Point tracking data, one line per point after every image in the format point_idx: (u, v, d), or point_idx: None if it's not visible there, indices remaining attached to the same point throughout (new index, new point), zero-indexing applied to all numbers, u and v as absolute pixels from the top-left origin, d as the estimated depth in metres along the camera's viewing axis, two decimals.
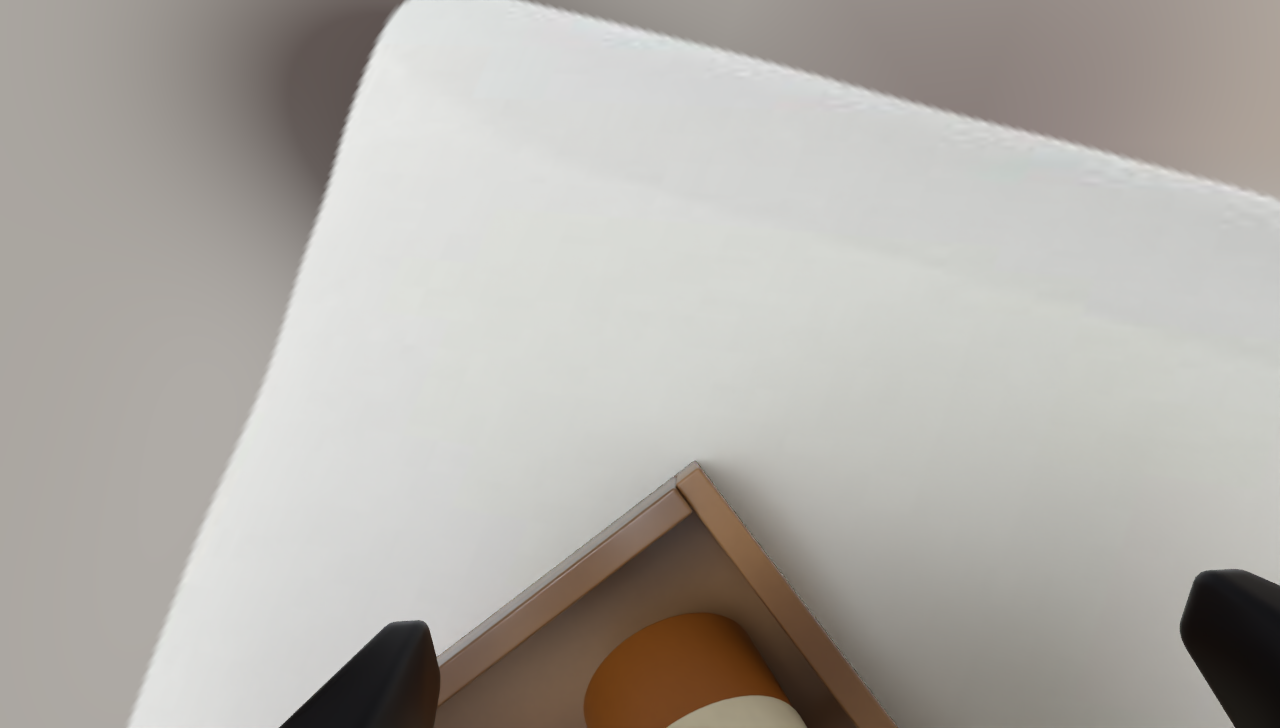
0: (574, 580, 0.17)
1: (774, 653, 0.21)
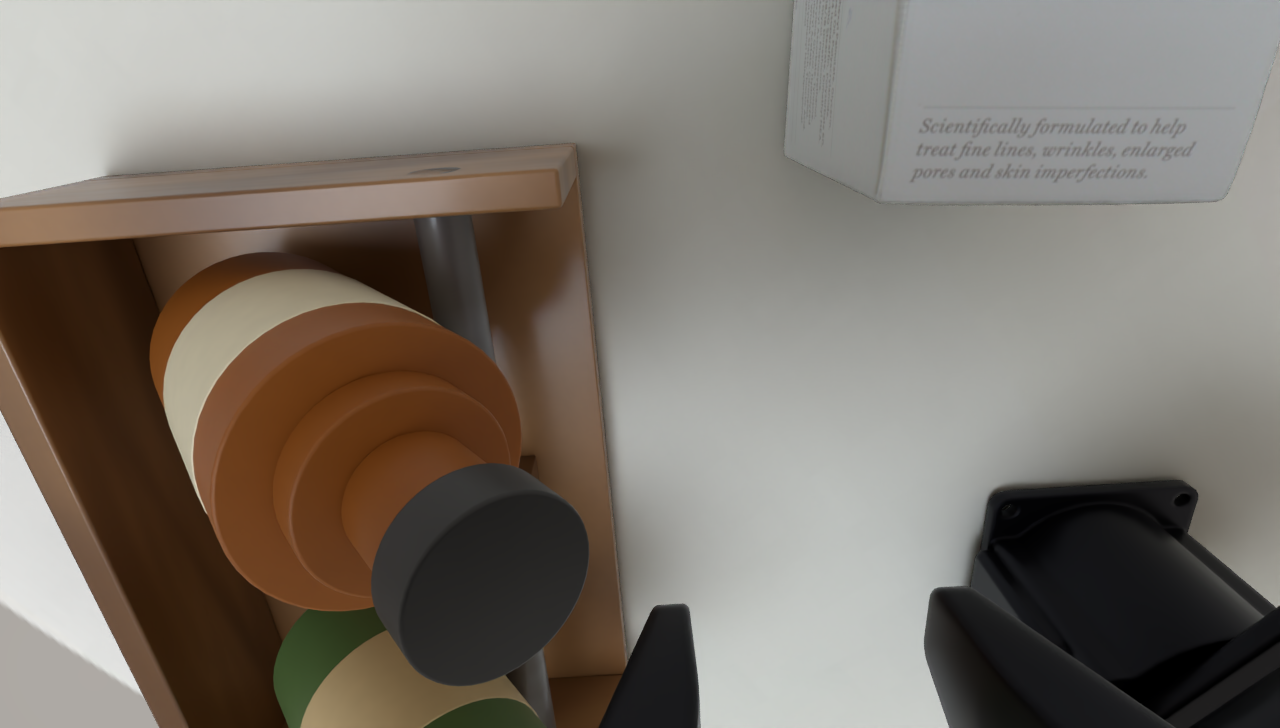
0: (16, 412, 0.15)
1: (336, 229, 0.18)
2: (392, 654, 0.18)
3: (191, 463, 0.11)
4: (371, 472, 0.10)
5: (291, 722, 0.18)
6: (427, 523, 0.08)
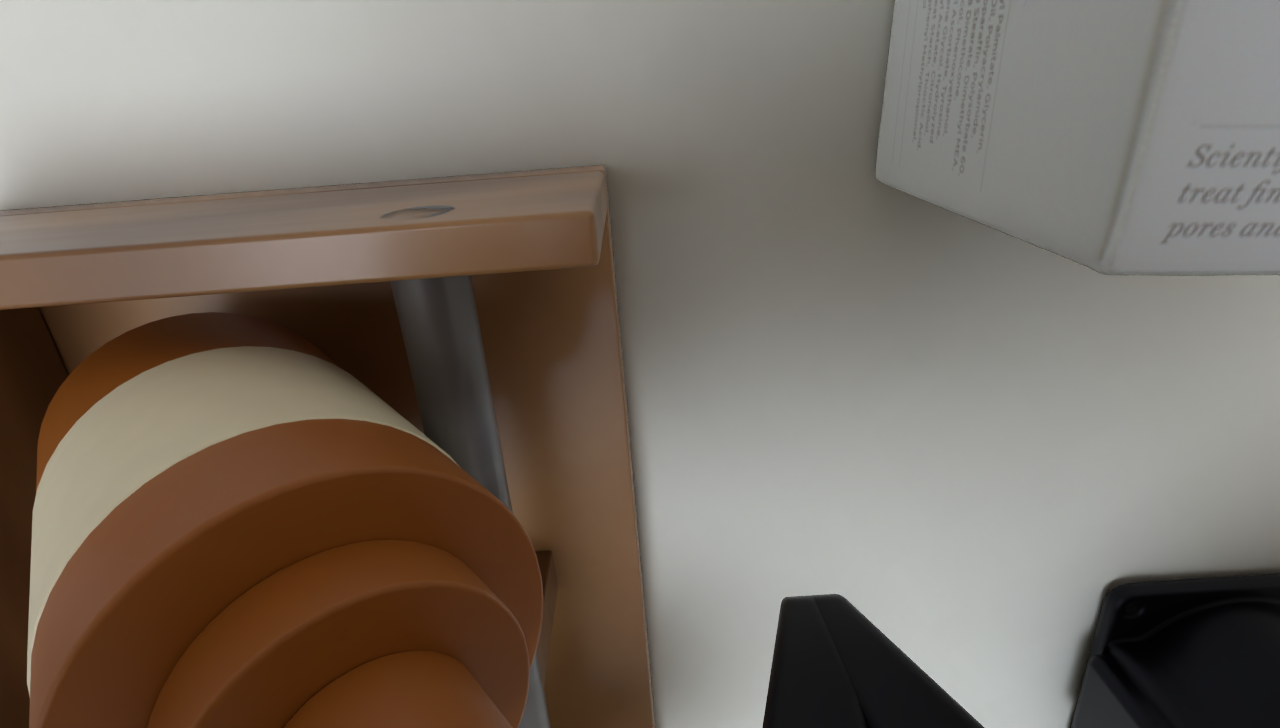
0: None
1: None
2: None
3: (29, 691, 0.07)
4: None
5: None
6: None
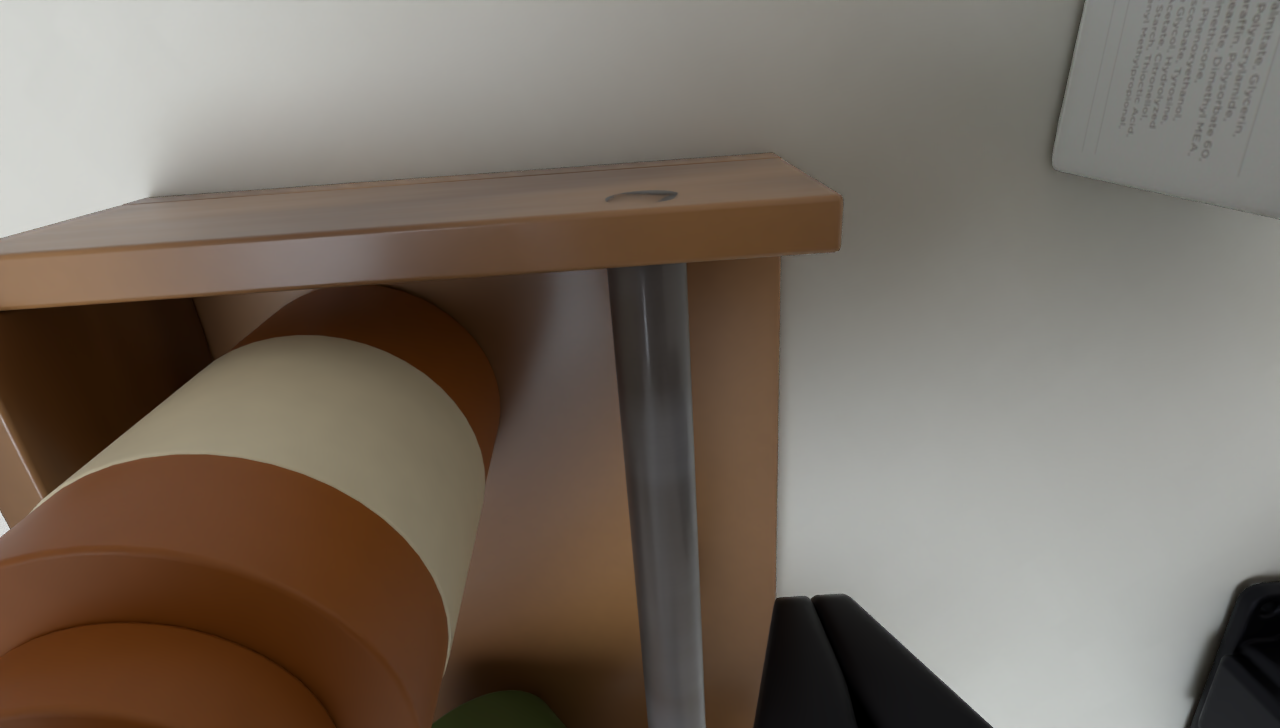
0: None
1: None
2: None
3: None
4: None
5: None
6: None
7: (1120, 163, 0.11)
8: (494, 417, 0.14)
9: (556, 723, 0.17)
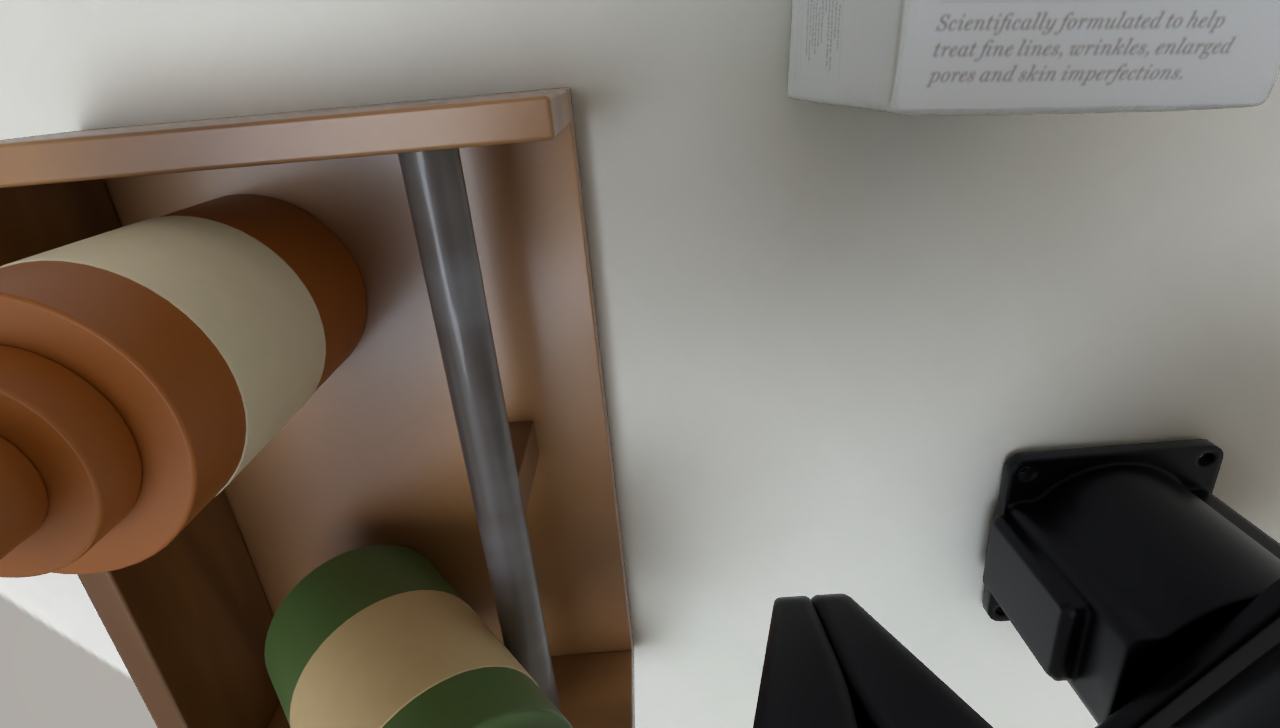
0: None
1: (321, 181, 0.17)
2: (386, 623, 0.17)
3: None
4: None
5: (282, 697, 0.18)
6: None
7: (807, 84, 0.15)
8: (351, 301, 0.17)
9: (430, 569, 0.20)
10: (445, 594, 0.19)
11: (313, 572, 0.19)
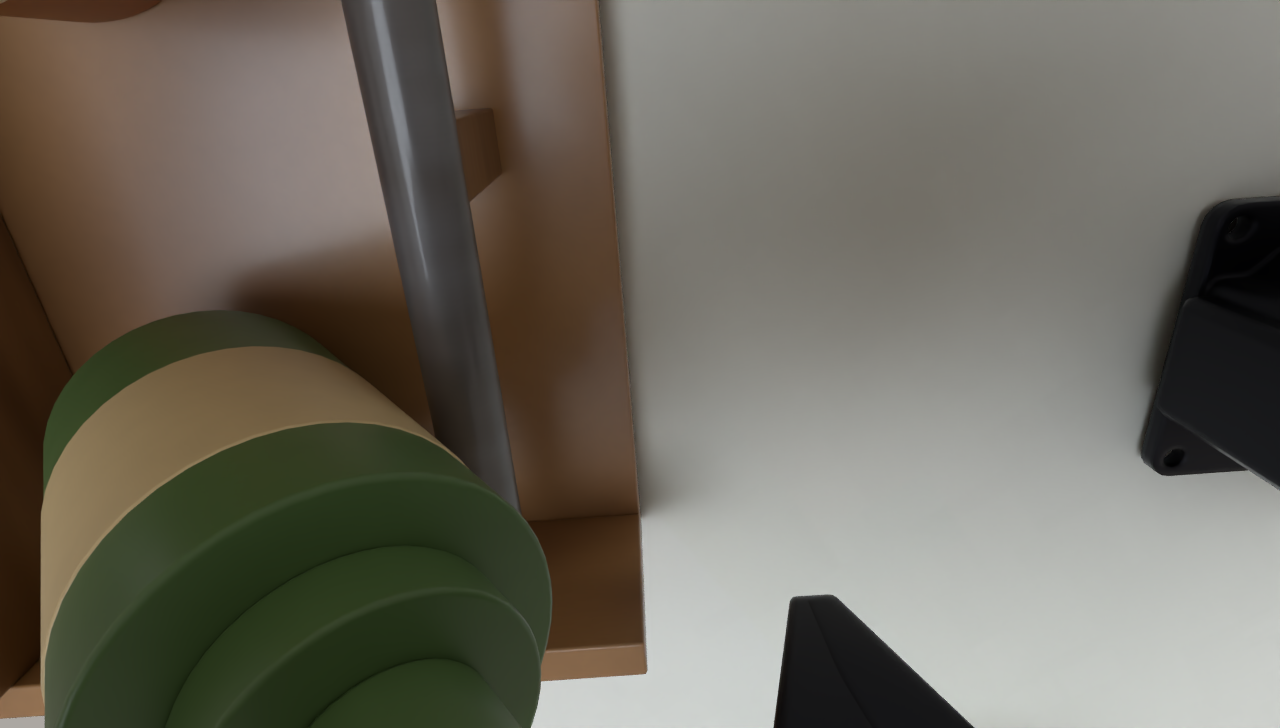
0: None
1: None
2: (214, 371, 0.10)
3: None
4: None
5: None
6: None
7: None
8: None
9: (328, 351, 0.13)
10: (340, 365, 0.11)
11: (128, 333, 0.12)
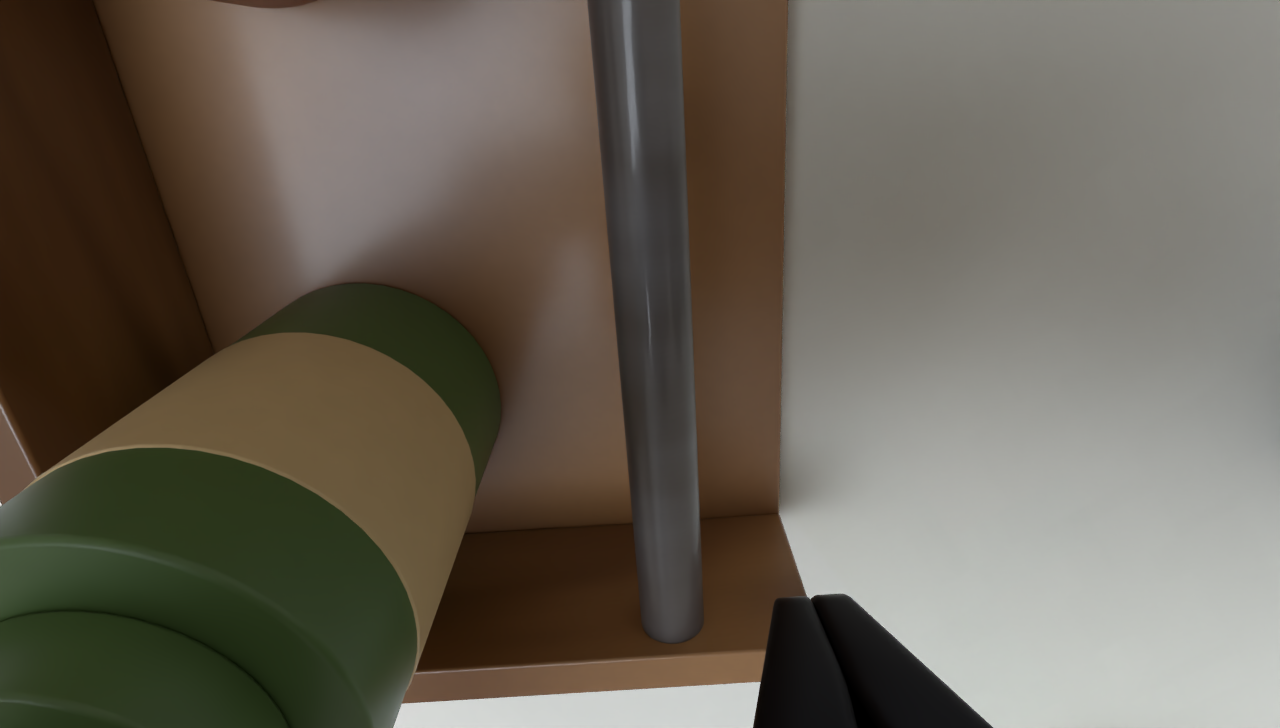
0: None
1: None
2: (257, 356, 0.10)
3: None
4: None
5: None
6: None
7: None
8: None
9: (448, 347, 0.13)
10: (405, 372, 0.11)
11: (311, 292, 0.13)
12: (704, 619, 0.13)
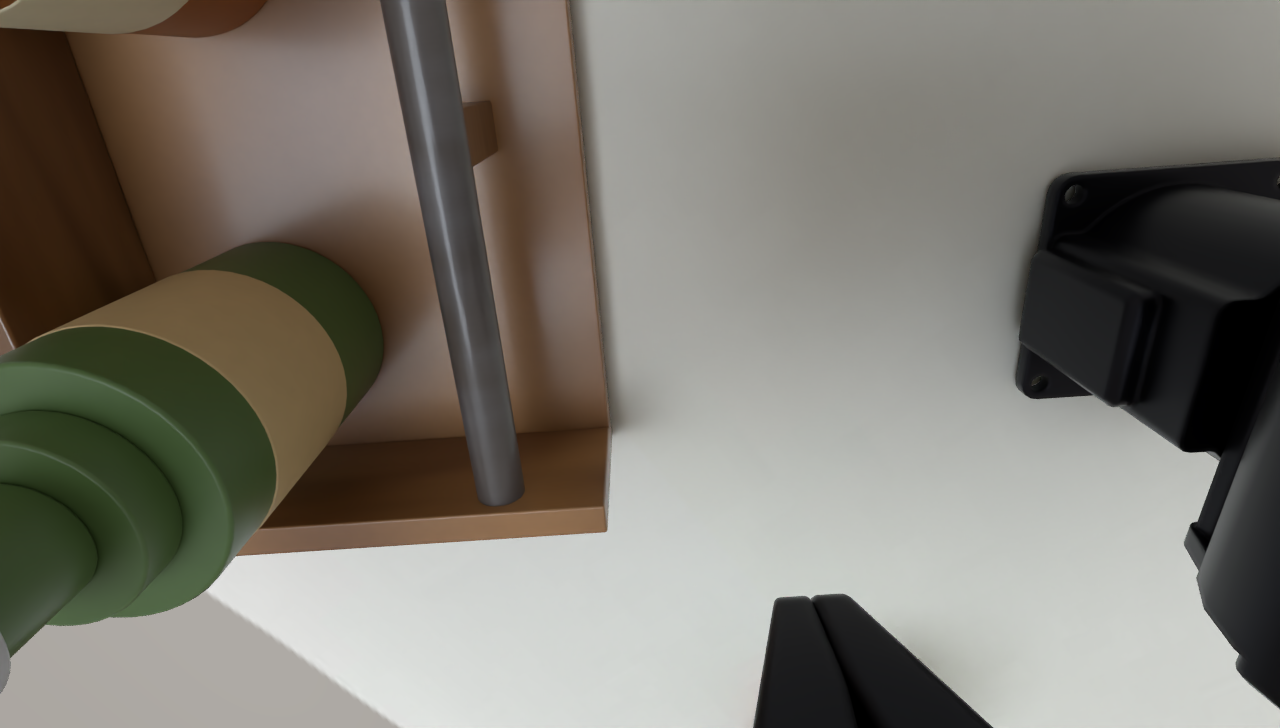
0: None
1: None
2: (176, 283, 0.14)
3: None
4: None
5: None
6: None
7: None
8: None
9: (331, 288, 0.17)
10: (287, 299, 0.15)
11: None
12: (524, 491, 0.17)
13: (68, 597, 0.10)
